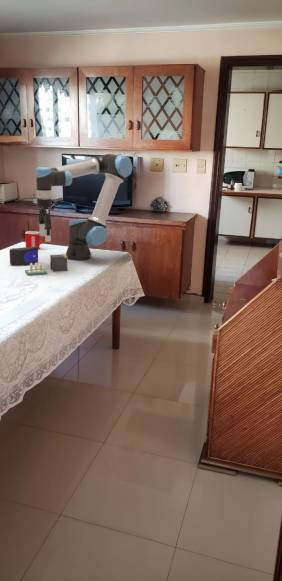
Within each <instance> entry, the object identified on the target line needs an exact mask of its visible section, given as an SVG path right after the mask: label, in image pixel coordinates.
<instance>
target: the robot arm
mask: <svg viewBox="0 0 282 581" xmlns="http://www.w3.org/2000/svg"><path fill="white" fill-rule="evenodd" d="M132 171H133V164H132V160H131V159H130V157H128V156H127V155H123V154H113V153H112V154H111V153H105V154H102V155H98V156H94V157H91V158H89V160H84V161H80V162H75V163H74V162H73V163H71V164H64V165H61V166H55V167H48V166H46V167H44V166H43V167H42V166H39V167H36V171H35V179H36V182H35V183H36V184H35V185H36V191H35V194H36V205H37V207H38V208H39V210H38V212H39V213H38V219H37V220H38V224H39V225H38V226H39V232H40V233H39V235H40V236H41V237H43V236H45V242H48V243H49V242H51V241H52V240H51V238H52V236H51V233H52V231H51V229H53V227H52V219H51V210H50V209H49V207H52V205H53V200H52V198H53V197H52V196H53V192H52V191H53V190H52V187H66V186H67V187H68V186H71V185H72V183H73V179H74V178H79V177H82V176H87V175H91V174H93V175H101V174H102V175H104V176H105V179H104V183H103V185H102V187H101V190H100V193H99V195H98V198H97V201H96V203H95V207H94V209H93V211H92V214H91V216H90V217H88V218H87V219H86V218H81V219H80V218H79V219H78V218H77V219H70V220H69V222H68V246H67V249H66V252H65V255H66V256H67V260H72V261H86V260H89V259H91V258H92V252H91V250H90V246H94V247H98V246H101V245H103V244H104V243H105V241H106V240H107V237H108V233H107V230H106V229H107V224H106V221H107V219H108V216H109V214H110V211H111V209H112V206H113V205H112V204H113V203H114V200H115V197H116V194H117V192H118V189H119V187H120V184H122V183H124V181H125V178H127V177H129V176H130V175H131V174H132ZM45 242H44V243H45Z"/></svg>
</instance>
